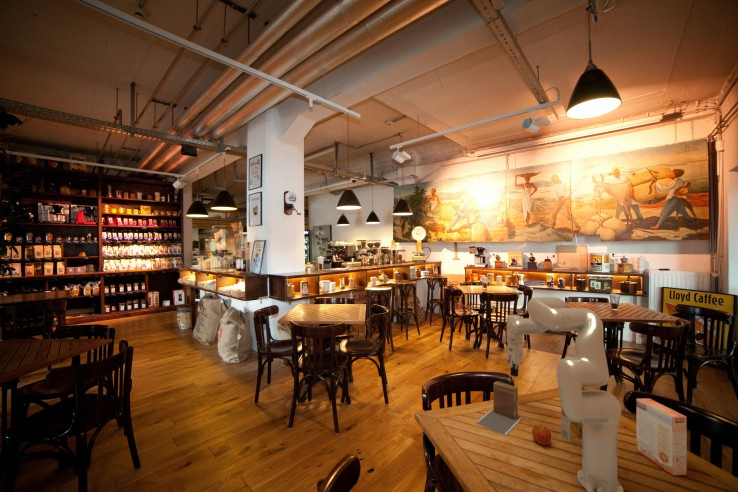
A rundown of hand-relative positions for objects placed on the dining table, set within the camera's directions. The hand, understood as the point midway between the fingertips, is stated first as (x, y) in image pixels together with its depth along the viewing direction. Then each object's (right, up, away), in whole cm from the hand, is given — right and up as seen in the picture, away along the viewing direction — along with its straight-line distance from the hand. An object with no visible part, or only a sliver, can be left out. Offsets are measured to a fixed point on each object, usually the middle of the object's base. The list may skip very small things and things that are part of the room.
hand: (514, 375), depth 158 cm
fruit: (-3, -16, -30) cm, 34 cm away
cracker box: (+35, -15, -42) cm, 57 cm away
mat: (-13, -15, -14) cm, 25 cm away
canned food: (+12, -16, -27) cm, 33 cm away
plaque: (-8, -15, -9) cm, 19 cm away
